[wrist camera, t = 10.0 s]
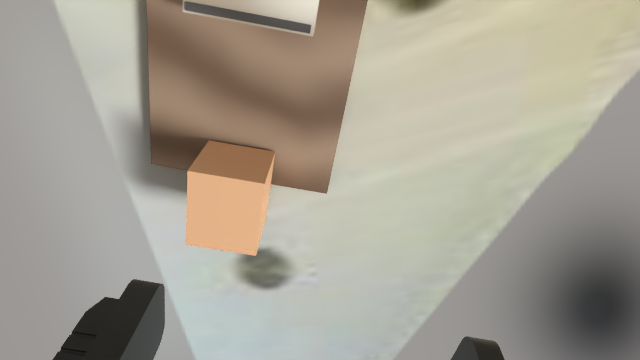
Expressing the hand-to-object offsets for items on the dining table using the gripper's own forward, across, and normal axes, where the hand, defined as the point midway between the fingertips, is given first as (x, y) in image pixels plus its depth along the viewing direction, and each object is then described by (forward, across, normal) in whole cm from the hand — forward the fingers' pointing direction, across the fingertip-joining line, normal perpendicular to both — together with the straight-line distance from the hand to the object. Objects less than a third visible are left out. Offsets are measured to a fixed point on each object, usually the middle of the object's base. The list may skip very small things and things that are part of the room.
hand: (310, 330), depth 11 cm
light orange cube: (+20, +5, +8) cm, 22 cm away
